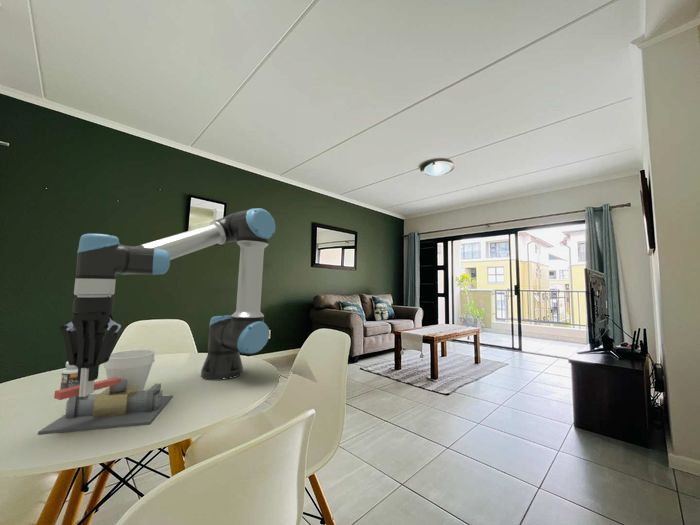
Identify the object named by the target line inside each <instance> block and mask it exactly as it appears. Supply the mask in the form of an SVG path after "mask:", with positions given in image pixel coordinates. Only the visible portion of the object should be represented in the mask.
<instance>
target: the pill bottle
mask: <svg viewBox="0 0 700 525" xmlns="http://www.w3.org/2000/svg"><path fill="white" fill-rule="evenodd" d="M77 375H78V368H77V366H74V365H69V363H68V361H66V362H65V369H64V370H63V371H62V373H61V381H60V387H59V388H60V389H59V390H61V389H65V388H70V387H74V386H78V385H80V381H78V380H77V377H78V376H77Z"/></svg>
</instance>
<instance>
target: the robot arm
mask: <svg viewBox="0 0 700 525" xmlns="http://www.w3.org/2000/svg"><path fill="white" fill-rule="evenodd" d="M275 232H276V222H275V219H274V217H273V216H272V215H271V212H269V211H267V210H266V209H264V208H260V207H259V208H250V209H247V210H242V211H236V212H234V213H230V214H228V215H227V216H223V217H222V218H219V219H216V220H212V221H210V222H209V225H204V226H201V227H198V228H194V229H191V230H187V231H184V232H180V233H176V234H174V235H170V236H167V237H163V238H160V239H157V240H154V241H150V242H146V243H143V244H139V245H136V246H133V245H132V246H130V245H125V244H121V243H120V239H119V237H117V236H115V235H110V234H105V233H85V234H82V235H81V236H80V238H79V241H78V242H79V243H78V249H77V252H76V253H77V257H76V258H77V259H76V270H75V271H76V272H75V274H76V275H75V279H74V280H75V281H74V289H73V294H74V295H75V296H76V297H74V298H72V299H73V302H72V313H73V316H72V318H71V321H70V322H68V323H67V324H64V325H60V326H59V328H58V329H59V332H60V333H62V335H63V340H64V345H65V351H66V356H67V362H68V363H69V365H74V366H77V368H78V375H77V376H78V377H77V380H78V381H80V389H79V397H85V396H87V395H89V394H94V392H95V390H94V382H96V380H97V379H99V378H98V377H99V370H100V366H101V365H104V363H106V362H108V361H109V358H110V355H111V353H113V349H114V345H115V343H116V341H117V338H118V335H119V333H120V332H121V330H122V329H123V328H124V324H123V323H117V322H116V321H114V317H113V311H114V307H115V305H114V304H115V298H114V297H113V295H114V294H115V292H116V282H117V281H116V279H117V274H118V275H121V276H127V275H152V276H155V275H164V274H166V273H167V272H168V270H169V269H170V265H171V260H174V259H177V258H180V257H182V256H186V255H188V254H191V253H194V252H197V251H200V250H203V249H205V248H206V249H207V248H208V247H211V246H214V245H217V244H218V245H221V246H222V245H225V244H228V243H233V242H236V244H237V245H238V246H239V248H240V251H239V254H240V255H239V266H238V277H237V278H238V280H237V293H236V294H237V295H236V305H235V306H236V307H235V309H236V310H235V312H233V313H232V314H229V315H216V316H212V317H211V318H210V320H209V321H210V322H209V326H208V328H209V330H208V343H207V344H208V345H207V355H206V358H205V360H204V363H203V365H202V367H201V370H200V371H201V372H200V378H202V377H203V378H202V379H204V378H206V379H205V380H209V379H222V380H224V379H223V378H229V379H231V378H230V377H234V376H237V375H239V376H241V375H242V374H243V373H242V372H244V366H243V361H242V358H241V355H240V354H249V355H250V354H251V355H252V354H255V353H258V352H260V351H261V350H262V349H263V348H264V347H265V346H266V345H267V343H268V341H269V339H270V338H269V337H270V329H269V328H270V327H269V326H268V324H266V323H265V322H264V321H265V315H264V314H263V313H262V312H261V307H262V306H261V303H262V301H261V300H262V288H263V287H262V286H263V272H264V257H265V255H264V252H265V248H267V247H268V246H269V239H270V238H271V237H272V236H273V235H274V234H275ZM106 330H107V332H106ZM241 373H242V374H241ZM240 374H241V375H240ZM237 377H238V376H237ZM234 378H235V377H234Z"/></svg>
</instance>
